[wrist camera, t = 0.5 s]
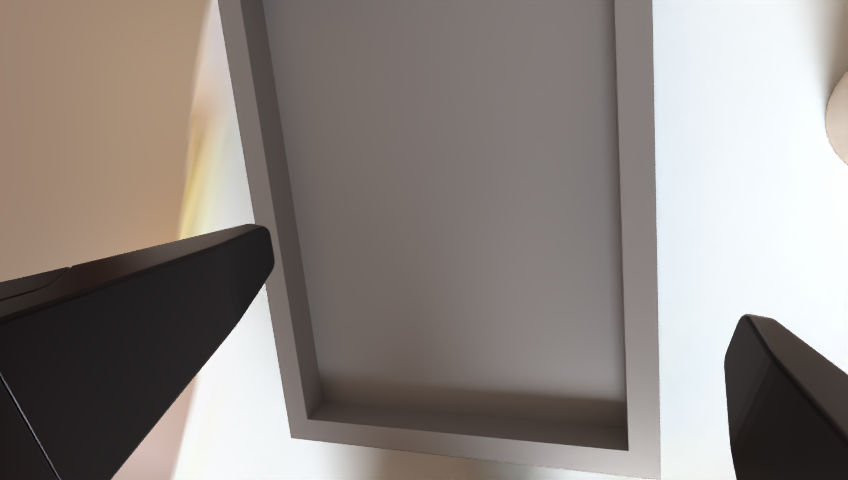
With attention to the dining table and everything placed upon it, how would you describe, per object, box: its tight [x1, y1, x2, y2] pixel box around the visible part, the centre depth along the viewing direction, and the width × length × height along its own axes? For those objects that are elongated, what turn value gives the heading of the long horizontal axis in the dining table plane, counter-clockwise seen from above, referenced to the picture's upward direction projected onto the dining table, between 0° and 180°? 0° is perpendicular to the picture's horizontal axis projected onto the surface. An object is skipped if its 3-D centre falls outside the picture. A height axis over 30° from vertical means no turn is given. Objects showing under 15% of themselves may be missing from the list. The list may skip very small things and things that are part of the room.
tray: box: [218, 0, 661, 480], centre depth 22 cm, size 24×18×2 cm
